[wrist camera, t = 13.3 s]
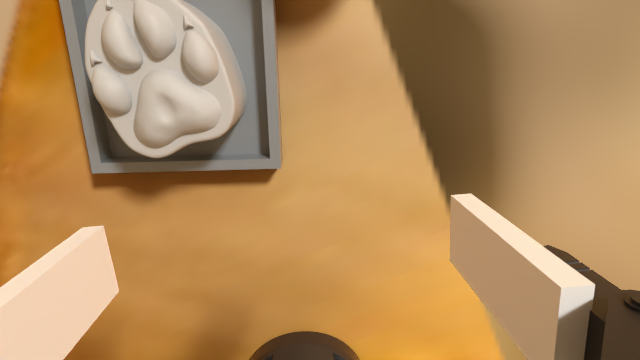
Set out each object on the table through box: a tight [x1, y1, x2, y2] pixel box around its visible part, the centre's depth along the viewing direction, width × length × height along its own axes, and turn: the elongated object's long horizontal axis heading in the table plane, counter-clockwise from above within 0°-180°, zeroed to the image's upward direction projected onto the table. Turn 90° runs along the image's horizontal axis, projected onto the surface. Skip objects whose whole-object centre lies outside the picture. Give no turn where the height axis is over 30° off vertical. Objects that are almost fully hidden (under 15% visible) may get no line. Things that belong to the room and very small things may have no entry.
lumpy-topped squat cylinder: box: [85, 0, 247, 158], centre depth 33 cm, size 10×13×9 cm
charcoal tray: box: [59, 0, 282, 174], centre depth 37 cm, size 19×18×3 cm
